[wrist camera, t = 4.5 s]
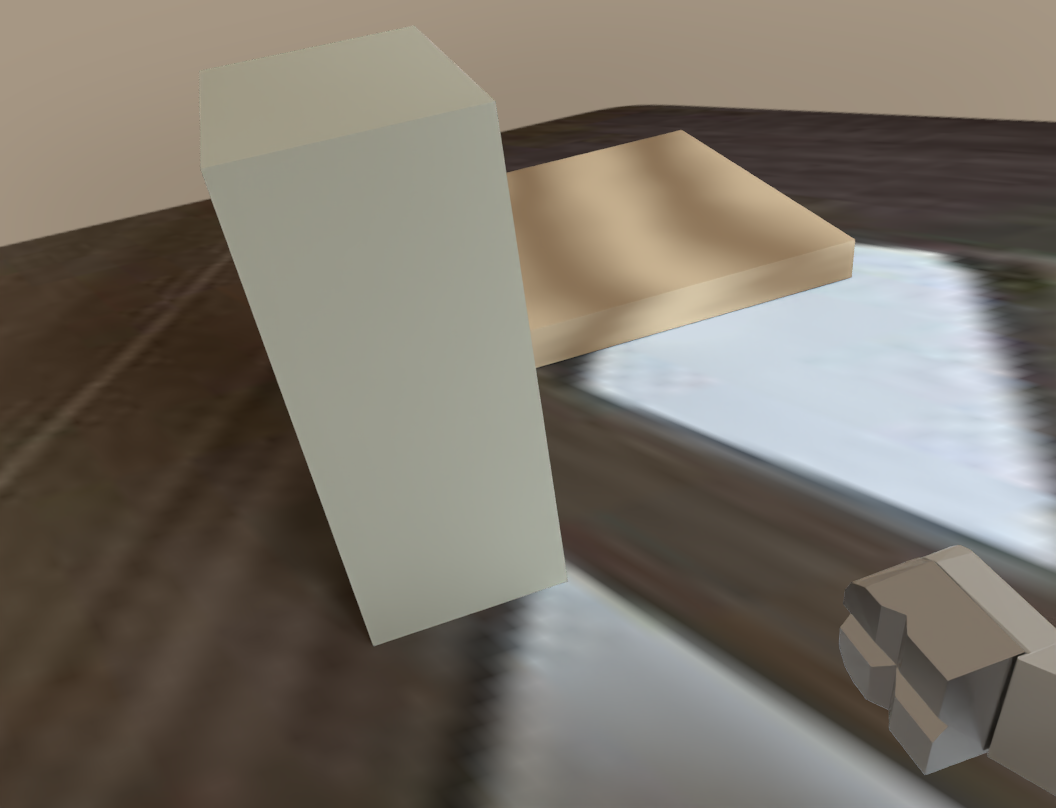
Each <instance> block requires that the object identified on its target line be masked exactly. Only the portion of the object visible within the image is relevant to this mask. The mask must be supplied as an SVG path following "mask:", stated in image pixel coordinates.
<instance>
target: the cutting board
mask: <svg viewBox="0 0 1056 808" xmlns="http://www.w3.org/2000/svg"><path fill="white" fill-rule="evenodd" d="M506 174H507V181H508V188H509V194H510V201H511V208H512V214H513V221H514V228H515V234H516V241H517V247H518V254H519V261H520V267H521V274H522V281H523V287H524V294H525V301H526V307H527V314H528V321H529V327H530V334H531V340H532V347H533V354H534V360H535V367H536V368H538V367H541V366H544V365H548V364H551V363H555V362H558V361H562V360H565V359H569V358H572V357H576V356H579V355H583V354H586V353H590V352H593V351H597V350H600V349H604V348H607V347H611V346H614V345H617V344H621V343H624V342H628V341H631V340H635V339H638V338H642V337H645V336H649V335H652V334H656V333H659V332H663V331H666V330H670V329H673V328H677V327H680V326H683V325H687V324H690V323H694V322H697V321H701V320H704V319H708V318H711V317H715V316H718V315H722V314H725V313H729V312H732V311H736V310H739V309H743V308H746V307H750V306H753V305H756V304H760V303H763V302H767V301H770V300H774V299H777V298H781V297H784V296H788V295H791V294H795V293H798V292H802V291H805V290H809V289H812V288H816V287H819V286H823V285H826V284H829V283H833V282H836V281H840V280H843V279H847V278H850V277H852V267H853V257H854V246H855V239H853V238H852V237H850V236H848V235H847V234H845V233H844V232H842V231H841V230H839V229H837V228H836V227H834V226H833V225H831V224H829V223H828V222H826V221H825V220H823V219H822V218H820V217H818V216H817V215H815V214H814V213H812V212H810V211H809V210H807V209H806V208H804V207H803V206H801V205H799V204H798V203H796V202H795V201H793V200H792V199H790V198H788V197H787V196H785V195H784V194H782V193H780V192H779V191H777V190H776V189H774V188H773V187H771V186H769V185H768V184H766V183H765V182H763V181H761V180H760V179H758V178H757V177H755V176H754V175H752V174H750V173H749V172H747V171H746V170H744V169H743V168H741V167H739V166H738V165H736V164H735V163H733V162H731V161H730V160H728V159H727V158H725V157H724V156H722V155H720V154H719V153H717V152H716V151H714V150H712V149H711V148H709V147H708V146H706V145H705V144H703V143H701V142H700V141H698V140H697V139H695V138H694V137H692V136H690V135H689V134H687V133H686V132H684V131H682V130H679V131H675V132H671V133H667V134H663V135H659V136H655V137H651V138H647V139H643V140H639V141H635V142H630V143H626V144H622V145H618V146H614V147H610V148H606V149H602V150H598V151H594V152H590V153H586V154H582V155H577V156H573V157H569V158H565V159H561V160H557V161H553V162H549V163H545V164H541V165H537V166H533V167H529V168H524V169H520V170H516V171H512V172H508V173H506Z"/></svg>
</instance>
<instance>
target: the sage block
mask: <svg viewBox="0 0 1056 808" xmlns="http://www.w3.org/2000/svg"><path fill="white" fill-rule="evenodd" d="M199 100H200V101H199V103H200V169H201V172H202V175H203V178H204V180H205V183H206V186H207V189H208V191H209V194H210V197H211V200H212V202H213V205H214V208H215V211H216V213H217V216H218V219H219V222H220V225H221V227H222V230H223V233H224V236H225V238H226V241H227V244H228V247H229V249H230V252H231V255H232V258H233V260H234V263H235V266H236V269H237V271H238V274H239V277H240V280H241V282H242V285H243V288H244V291H245V294H246V296H247V299H248V302H249V305H250V307H251V310H252V313H253V316H254V318H255V321H256V324H257V327H258V329H259V332H260V335H261V338H262V340H263V343H264V346H265V349H266V351H267V354H268V357H269V360H270V362H271V365H272V368H273V371H274V374H275V376H276V379H277V382H278V385H279V387H280V390H281V393H282V396H283V398H284V401H285V404H286V407H287V409H288V412H289V415H290V418H291V420H292V423H293V426H294V429H295V431H296V434H297V437H298V440H299V443H300V445H301V448H302V451H303V454H304V456H305V459H306V462H307V465H308V467H309V470H310V473H311V476H312V478H313V481H314V484H315V487H316V489H317V492H318V495H319V498H320V500H321V503H322V506H323V509H324V511H325V514H326V517H327V520H328V523H329V525H330V528H331V531H332V534H333V536H334V539H335V542H336V545H337V547H338V550H339V553H340V556H341V558H342V561H343V564H344V567H345V569H346V572H347V575H348V578H349V580H350V583H351V586H352V589H353V592H354V594H355V597H356V600H357V603H358V605H359V608H360V611H361V614H362V616H363V619H364V622H365V625H366V627H367V630H368V633H369V636H370V638H371V641H372V644H373V646H376V645H379V644H382V643H385V642H388V641H391V640H394V639H397V638H400V637H403V636H406V635H409V634H412V633H415V632H418V631H421V630H424V629H427V628H430V627H433V626H436V625H439V624H442V623H445V622H448V621H451V620H454V619H457V618H460V617H463V616H466V615H469V614H472V613H475V612H478V611H481V610H484V609H487V608H490V607H493V606H496V605H499V604H502V603H505V602H508V601H511V600H514V599H517V598H520V597H523V596H526V595H529V594H532V593H534V592H537V591H540V590H543V589H546V588H549V587H552V586H555V585H558V584H561V583H564V582H567V581H568V580H567V573H566V566H565V560H564V553H563V546H562V540H561V533H560V526H559V520H558V513H557V507H556V500H555V493H554V487H553V480H552V473H551V467H550V460H549V453H548V447H547V440H546V433H545V427H544V420H543V414H542V407H541V400H540V394H539V387H538V380H537V374H536V367H535V360H534V354H533V347H532V340H531V334H530V327H529V321H528V314H527V307H526V301H525V294H524V287H523V281H522V274H521V267H520V261H519V254H518V247H517V241H516V234H515V228H514V221H513V214H512V208H511V201H510V194H509V188H508V181H507V174H506V168H505V161H504V154H503V148H502V141H501V135H500V128H499V121H498V115H497V108H496V101H495V100H494V99H493V98H492V97H491V96H489V95H488V94H487V93H486V92H485V91H484V90H483V89H482V88H481V87H480V86H479V85H477V83H475V82H474V81H473V80H472V79H471V78H470V77H469V76H468V75H467V74H466V73H465V72H464V71H462V70H461V69H460V68H459V67H458V66H457V65H456V64H455V63H454V62H453V61H452V60H451V59H450V58H449V57H447V56H446V55H445V54H444V53H443V52H442V51H441V50H440V49H439V48H438V47H437V46H436V45H435V44H434V43H432V42H431V41H430V40H429V39H428V38H427V37H426V36H425V35H424V34H423V33H422V32H420V31H419V30H418V29H417V28H416V27H415V26H410V27H406V28H401V29H396V30H392V31H387V32H382V33H378V34H373V35H368V36H363V37H358V38H353V39H349V40H344V41H339V42H334V43H330V44H325V45H321V46H315V47H311V48H306V49H302V50H297V51H292V52H287V53H282V54H278V55H273V56H268V57H263V58H258V59H254V60H249V61H244V62H240V63H234V64H230V65H225V66H221V67H216V68H211V69H206V70H201V71H199Z"/></svg>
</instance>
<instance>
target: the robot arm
mask: <svg viewBox="0 0 1056 808" xmlns="http://www.w3.org/2000/svg"><path fill="white" fill-rule="evenodd" d="M843 604H844V605H845V607H846V608H847V609H848V610H849V611H850V613H851V614H850V616H849V617H848V618H847V619H846V621H845V622H844V623H843V625H842V626H841V627H840V639H839V647H840V651H841V654H842V658H843V661H844V665H845V667H846V669H847V671H848V673H849V675H850V676H851V678H852V680H853V682H854V684H855V685H856V686H857V688H858V689H859V690H860V692H861V693H862V694H863V696H864V697H865V698H866V699H867V700H869V701H871V702H873V703H875V704H877V705H879V706H881V707H884V708H886V709H888V710H889V730H890V731H891V732H892V734H893V735H894V736H895V737H896V739H897V740H898V741H899V743H900V744H901V745H902V746H903V748H904V749H905V750H906V752H907V753H908V754H909V755H910V757H911V758H912V759H913V761H914V762H915V763H916V764H917V766H918V767H919V768H920V770H921V771H922V772H923V773H924V775H927V774H929V773H932V772H935V771H937V770H940V769H943V768H946V767H948V766H951V765H954V764H956V763H959V762H962V761H964V760H967V759H970V758H973V757H975V756H978V755H981V754H983V753H986V752H988V755H987V756H988V757H989V758H991V759H993V760H995V761H996V762H998V763H1000V764H1001V765H1003V766H1005V767H1007V768H1008V769H1010V770H1012V771H1013V772H1015V773H1017V774H1019V775H1020V776H1022V777H1024V778H1025V779H1027V780H1029V781H1031V782H1032V783H1034V784H1036V785H1038V786H1039V787H1041V788H1043V789H1044V790H1046V791H1048V792H1050V793H1051V794H1053V795H1055V796H1056V628H1055V627H1054V626H1053V625H1052V624H1050V623H1049V622H1048V621H1047V620H1046V619H1045V618H1044V617H1043V616H1042V615H1041V614H1040V613H1039V612H1037V611H1036V610H1035V609H1034V608H1033V607H1032V606H1031V605H1030V604H1029V603H1028V602H1027V601H1026V600H1024V599H1023V598H1022V597H1021V596H1020V595H1019V594H1018V593H1017V592H1016V591H1015V590H1014V589H1013V588H1011V587H1010V586H1009V585H1008V584H1007V583H1006V582H1005V581H1004V580H1003V579H1002V578H1001V577H1000V576H998V575H997V574H996V573H995V572H994V571H993V570H992V569H991V568H990V567H989V566H988V565H986V564H985V563H984V562H983V561H982V560H981V559H980V558H979V557H978V556H977V555H976V554H975V553H973V552H972V551H971V550H970V549H968V548H965V547H963V546H961V545H957V546H951V547H948V548H946V549H943V550H941V551H938V552H935V553H933V554H930V555H927V556H925V557H922V558H915V559H913V560H910V561H907V562H905V563H902V564H899V565H897V566H894V567H891V568H889V569H886V570H883V571H881V572H878V573H875V574H873V575H870V576H867V577H865V578H862V579H859V580H857V581H854V582H851V584H850V585H849V586H848V587H847V588H846V589H845V595H844V601H843Z"/></svg>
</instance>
